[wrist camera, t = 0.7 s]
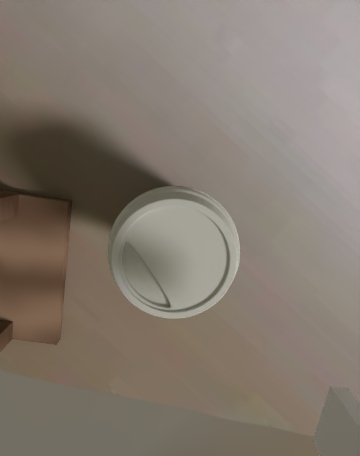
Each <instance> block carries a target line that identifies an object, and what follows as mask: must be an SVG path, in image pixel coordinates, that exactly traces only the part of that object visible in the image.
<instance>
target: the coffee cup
mask: <svg viewBox="0 0 360 456" xmlns="http://www.w3.org/2000/svg"><path fill="white" fill-rule="evenodd" d="M239 260H240V244H239V237H238V233H237V230H236V227H235V224H234V222H233V220H232V218H231V217H230V215H229V214H228V212H227V211H226V210H225V209H224V207H223V206H222V205H221V204H220V203H218V202H217V201H216V200H215V199H213V198H212V197H211V196H209V195H207V194H205V193H203V192H201V191H199V190H196V189H193V188H189V187H183V186H165V187H159V188H155V189H152V190H149V191H147V192H145V193H143V194H141V195H139V196H138V197H136V198H135V199H133V200H132V201H131V202H130V203H128V204H127V205H126V206H125V207H124V209H123V210H122V211H121V212H120V214H119V215H118V217H117V218H116V220H115V222H114V224H113V227H112V229H111V233H110V237H109V243H108V261H109V266H110V270H111V273H112V275H113V278H114V280H115V282H116V283H117V285H118V287H119V289H120V290H121V292H122V293H123V294H124V296H125V297H126V298H127V299H128V300H129V301H130V302H131V303H132V304H133V305H135V306H136V307H138V308H139V309H141V310H142V311H144V312H146V313H148V314H151V315H154V316H158V317H163V318H175V319H176V318H185V317H190V316H193V315H196V314H199V313H201V312H203V311H205V310H207V309H209V308H210V307H212V306H213V305H214V304H215V303H217V302H218V301H219V300H220V299H221V298H222V297H223V296H224V294H225V293H226V291H227V290H228V288H229V287H230V285H231V283H232V281H233V279H234V277H235V275H236V272H237V269H238V265H239Z"/></svg>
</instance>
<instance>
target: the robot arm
mask: <svg viewBox="0 0 360 456" xmlns="http://www.w3.org/2000/svg"><path fill="white" fill-rule="evenodd" d="M313 442H314V444H315V446H316V448H317V450H318V452H319V454H320V456H360V403H359V401H358V400H357V399H356V397H355V396H354V395H353V393H352V392H351V391H350V390H349V388H342V387H334V386H330V389H329V392H328V395H327V398H326V401H325V405H324V408H323V411H322V414H321V417H320V420H319V423H318V426H317V429H316V432H315V436H314V439H313Z"/></svg>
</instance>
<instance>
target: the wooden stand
mask: <svg viewBox="0 0 360 456" xmlns="http://www.w3.org/2000/svg"><path fill="white" fill-rule="evenodd" d="M71 206H72V201H70V200H63V199H57V198H50V197H44V196H37V195H31V194H25V193H18V192H12V191H5V190H0V352H1V351H2V350H3V349H4V347H5V346H6V345H7V344H8V343H9V342H10V341H11V340H12V339H16V340H24V341H32V342H40V343H48V344H55V345H57V343H58V342H59V340H60V335H61V324H62V312H63V300H64V288H65V276H66V265H67V253H68V241H69V229H70V218H71Z"/></svg>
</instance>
